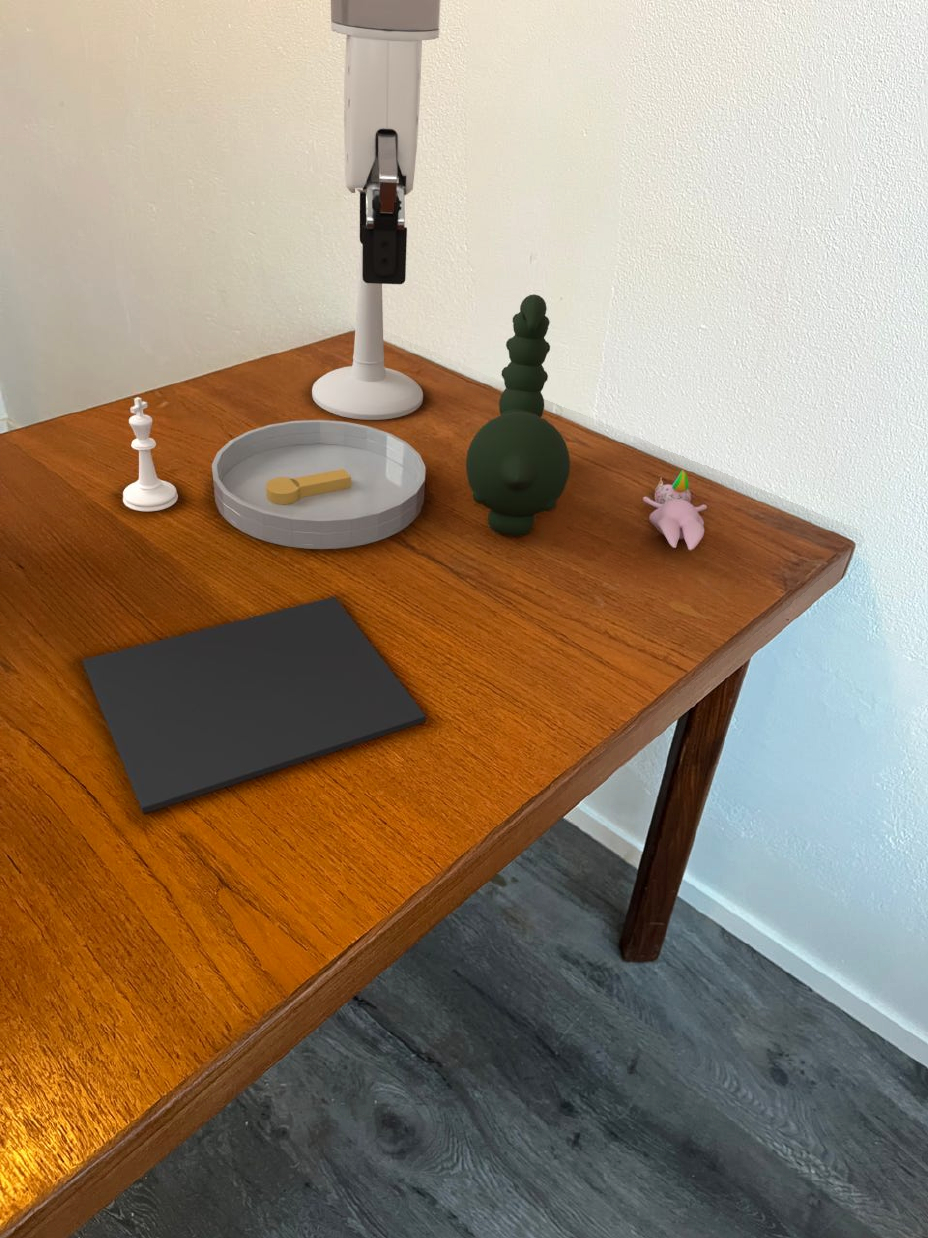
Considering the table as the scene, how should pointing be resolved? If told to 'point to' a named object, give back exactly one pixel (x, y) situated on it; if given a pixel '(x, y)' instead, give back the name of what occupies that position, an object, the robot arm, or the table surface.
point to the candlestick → (367, 369)
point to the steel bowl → (328, 520)
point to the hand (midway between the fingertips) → (381, 262)
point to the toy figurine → (520, 435)
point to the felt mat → (245, 700)
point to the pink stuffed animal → (677, 513)
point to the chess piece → (146, 468)
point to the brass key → (306, 486)
